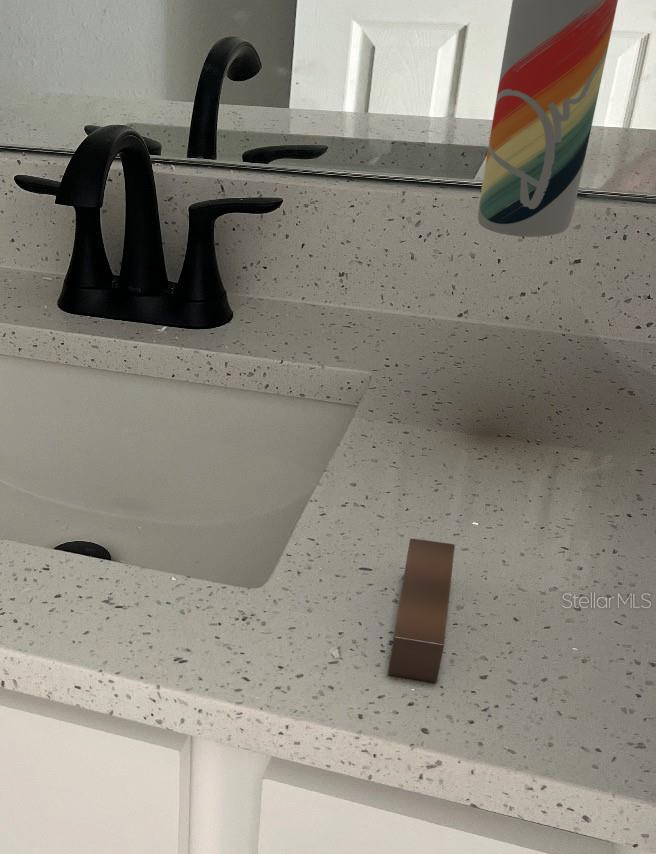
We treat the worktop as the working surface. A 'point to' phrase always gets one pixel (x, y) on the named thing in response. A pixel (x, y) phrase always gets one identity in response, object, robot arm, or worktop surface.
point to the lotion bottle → (544, 114)
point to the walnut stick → (422, 611)
